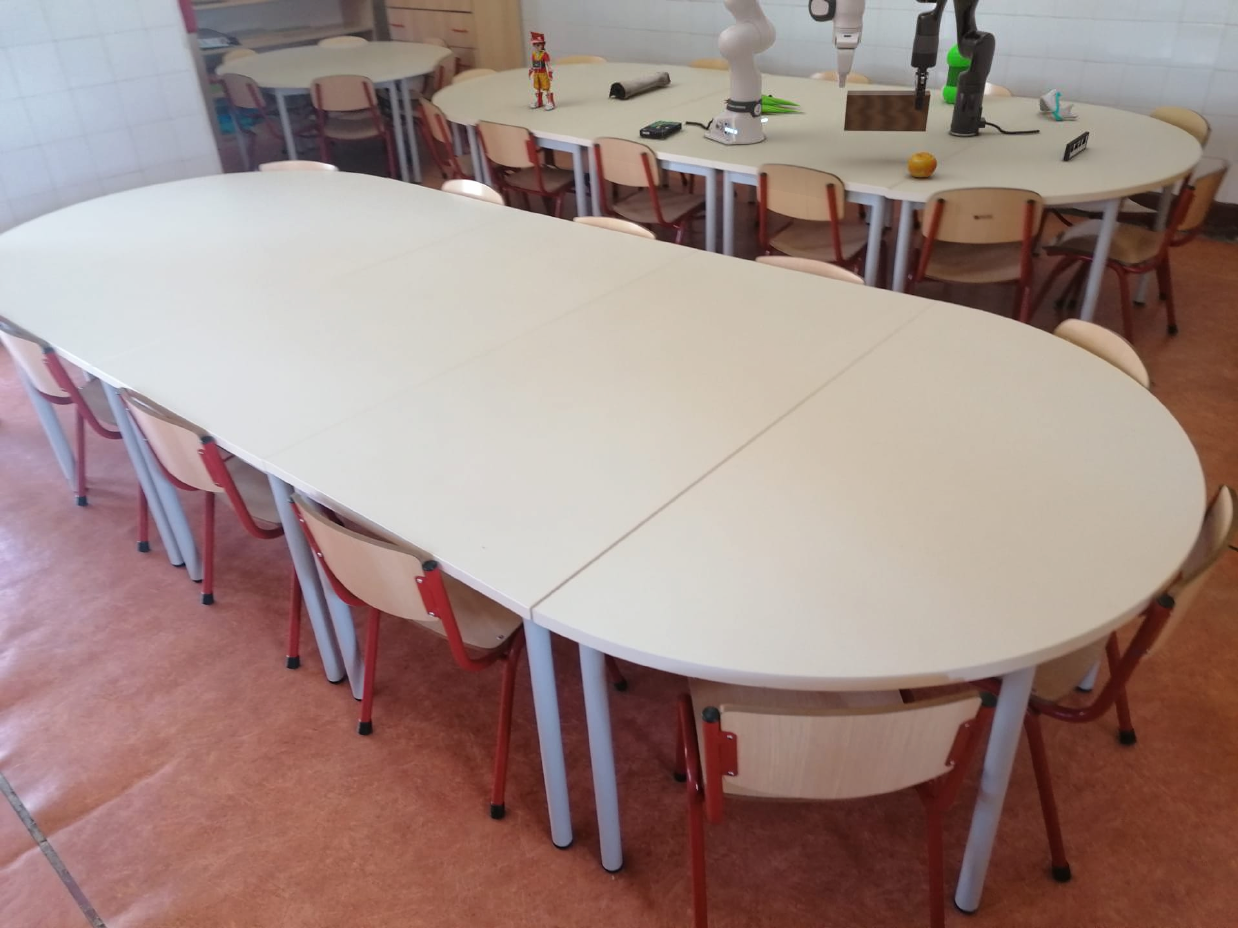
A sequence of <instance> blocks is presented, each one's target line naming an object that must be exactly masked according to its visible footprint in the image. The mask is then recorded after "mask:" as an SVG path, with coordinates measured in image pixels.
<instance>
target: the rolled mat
mask: <svg viewBox="0 0 1238 928" xmlns="http://www.w3.org/2000/svg"><path fill="white" fill-rule="evenodd" d="M671 83H672V81H671V77H670V74H669V72H668V71H658V72H654V73H649V74H645V75H640V76H637V77H633V78H628V79H623V80H620V81H616V82H613V83H612V84H611V85H610V89H609V95H608V97H609V98H611V97H616V99H620V100H622V101H623V100H626V99H627V98H629V97H630V96H632V95H635V94H636V93H638V92H640V91H643V90H644V89H647V88H650V87H655V86H658V87H659V86H661V87H665V86H669V85H670V84H671Z"/></svg>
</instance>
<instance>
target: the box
mask: <svg viewBox="0 0 1238 928" xmlns="http://www.w3.org/2000/svg"><path fill="white" fill-rule="evenodd" d="M919 92H923V91H919ZM931 94H932V93H931V90H925V96H924V97H923V105H922V109H921V110H915V102H916V91H915V90H847V93H846V99H845V100H846V102H845V114H844V126H843V131H844V132H916V133H918V132H921V133H922V132H924V133H925V132H927V124H928V117H929V110H930V103H931V97H932V96H931Z"/></svg>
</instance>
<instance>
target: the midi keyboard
mask: <svg viewBox="0 0 1238 928" xmlns="http://www.w3.org/2000/svg"><path fill="white" fill-rule="evenodd" d="M1090 133H1091V132H1090V131H1085V132H1083V133H1082V134H1080V135H1079V136H1076V138H1074V139H1073V140H1071V141H1069V142H1068V143H1066V145H1065V146H1066V147H1065V150H1064V153H1063V159H1062V160H1063V161H1068V160H1070V158H1072V157H1073V156H1075V155H1077V154H1078V153H1080V152H1081V151H1082V150H1084V149H1086V148H1087V145H1088V140H1089V137H1090Z"/></svg>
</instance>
